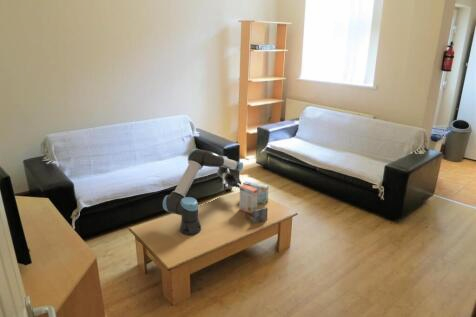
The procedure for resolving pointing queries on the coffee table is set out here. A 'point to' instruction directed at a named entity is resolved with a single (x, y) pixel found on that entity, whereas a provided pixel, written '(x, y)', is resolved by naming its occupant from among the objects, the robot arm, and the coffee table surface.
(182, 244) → the coffee table surface
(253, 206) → the cracker box
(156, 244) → the coffee table surface
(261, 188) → the snack box
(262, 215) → the bookend slot
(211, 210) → the coffee table surface
